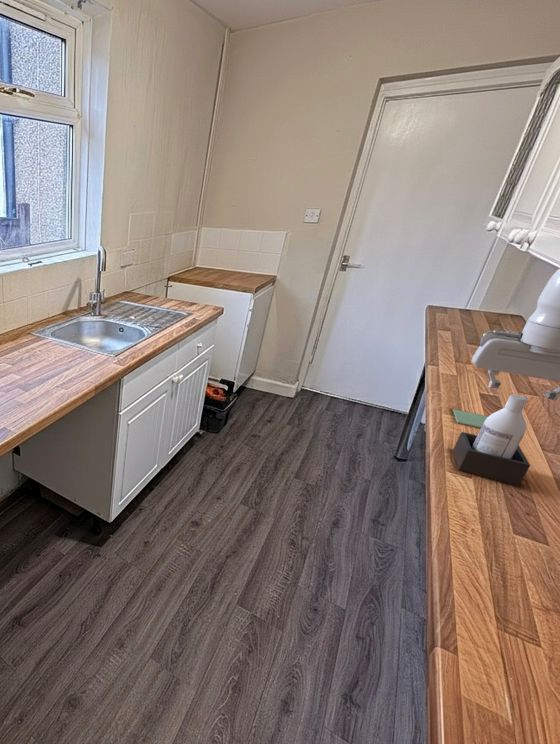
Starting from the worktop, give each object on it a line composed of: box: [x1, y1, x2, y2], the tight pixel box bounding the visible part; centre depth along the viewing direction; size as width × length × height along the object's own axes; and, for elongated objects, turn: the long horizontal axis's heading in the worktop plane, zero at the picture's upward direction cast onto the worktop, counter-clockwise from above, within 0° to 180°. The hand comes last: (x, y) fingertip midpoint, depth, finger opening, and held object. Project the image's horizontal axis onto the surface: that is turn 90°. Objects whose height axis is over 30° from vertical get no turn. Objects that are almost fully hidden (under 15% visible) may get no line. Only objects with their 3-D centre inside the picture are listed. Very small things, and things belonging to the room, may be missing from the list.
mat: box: [452, 408, 489, 429], centre depth 125 cm, size 10×10×1 cm
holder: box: [452, 431, 531, 487], centre depth 103 cm, size 11×11×6 cm
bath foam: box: [472, 394, 529, 459], centre depth 100 cm, size 7×7×20 cm
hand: (520, 393), depth 96 cm, fingers open, 8 cm apart
